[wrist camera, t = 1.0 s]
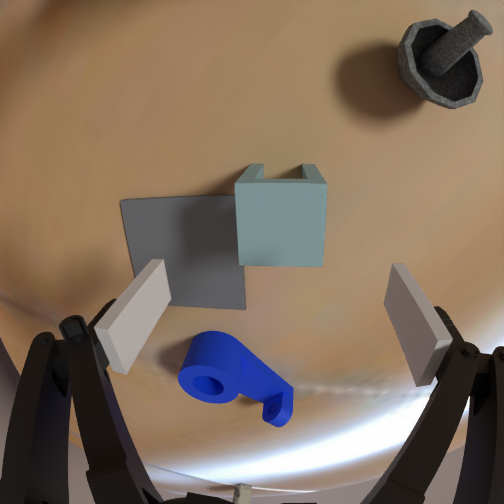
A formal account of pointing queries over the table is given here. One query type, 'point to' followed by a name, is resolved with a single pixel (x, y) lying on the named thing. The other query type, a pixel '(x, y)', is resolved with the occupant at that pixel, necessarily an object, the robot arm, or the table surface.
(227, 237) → the mat
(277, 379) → the bracket
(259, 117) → the table surface
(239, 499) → the grey stone block
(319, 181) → the slotted teal block
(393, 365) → the table surface
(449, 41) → the mortar and pestle
